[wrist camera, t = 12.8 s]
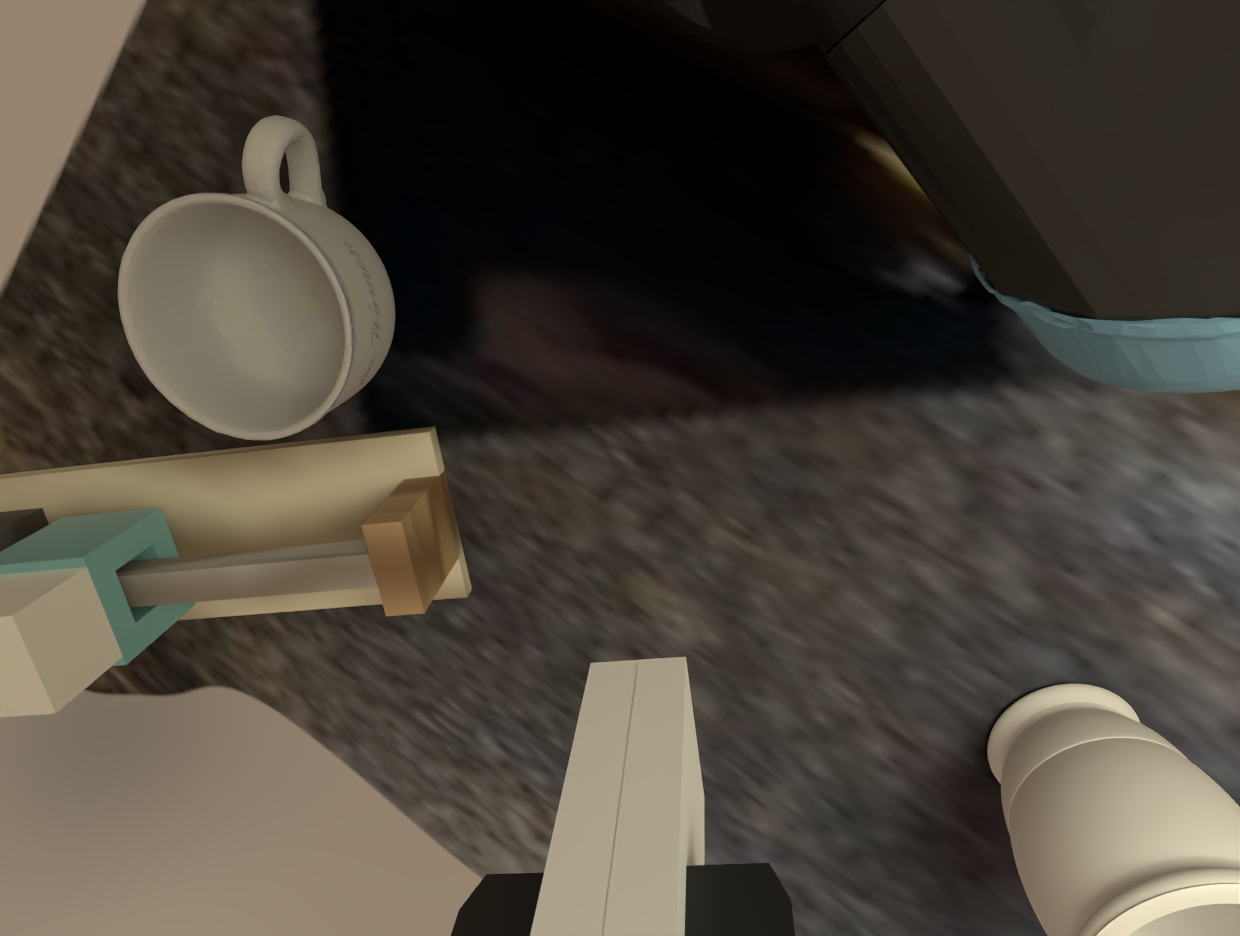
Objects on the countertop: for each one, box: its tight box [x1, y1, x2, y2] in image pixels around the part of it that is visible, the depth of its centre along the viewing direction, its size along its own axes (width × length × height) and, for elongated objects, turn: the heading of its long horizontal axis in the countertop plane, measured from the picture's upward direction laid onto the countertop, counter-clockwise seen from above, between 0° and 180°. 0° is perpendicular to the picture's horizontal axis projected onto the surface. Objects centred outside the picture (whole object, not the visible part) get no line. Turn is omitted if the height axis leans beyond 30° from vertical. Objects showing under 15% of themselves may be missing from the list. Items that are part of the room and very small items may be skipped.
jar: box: [987, 684, 1240, 936], centre depth 41 cm, size 11×10×15 cm
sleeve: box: [0, 507, 196, 717], centre depth 41 cm, size 6×6×10 cm
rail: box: [0, 426, 472, 620], centre depth 44 cm, size 10×28×8 cm, turn 98°
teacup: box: [118, 115, 395, 440], centre depth 38 cm, size 14×11×8 cm
